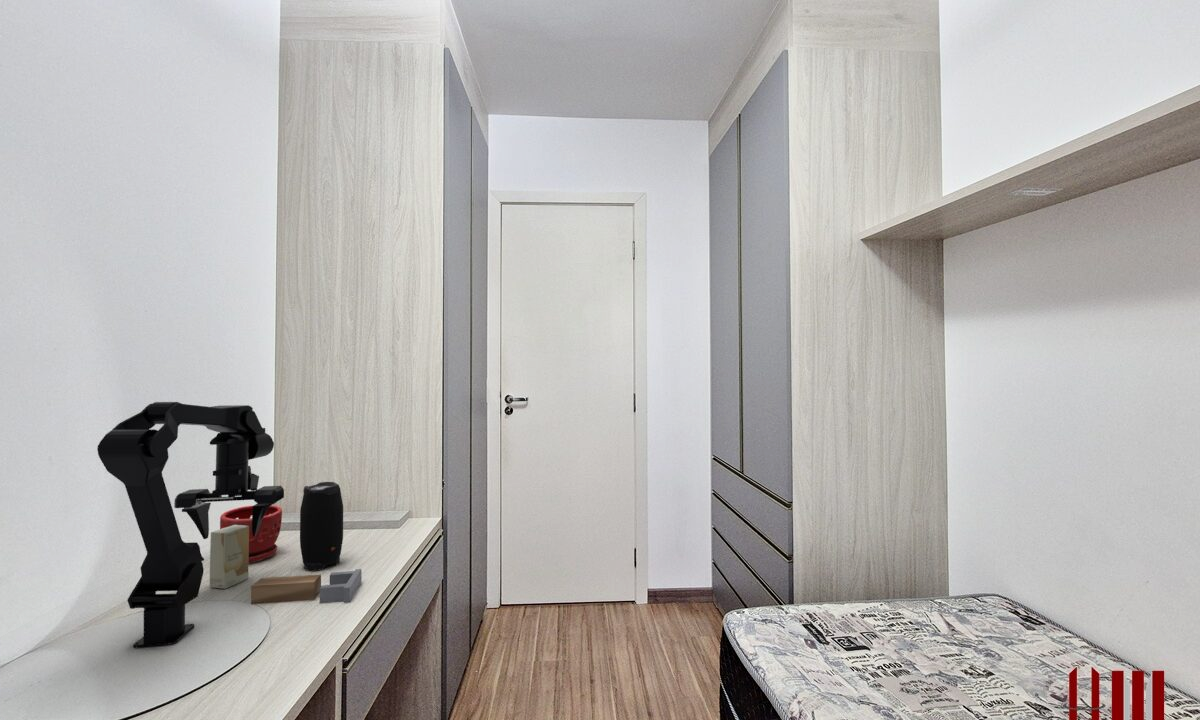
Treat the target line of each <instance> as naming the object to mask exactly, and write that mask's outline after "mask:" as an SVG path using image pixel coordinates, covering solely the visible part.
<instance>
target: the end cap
mask: <svg viewBox="0 0 1200 720" xmlns="http://www.w3.org/2000/svg"><path fill="white" fill-rule="evenodd" d="M362 575H363V574H362V568H356V569H355V570H349V571H336V572H334V571H333V572H331V573H330V574H329V584H324V585H321V587H320V594H319V604H325V603H334V602H335V603H336V602H337V603H338V602H343V603H350V602H351V601H352V599H353V598H354V596H355V594H356V593H357V591H358V590H359V589H358V588H359V587H360V585H361V584H362Z"/></svg>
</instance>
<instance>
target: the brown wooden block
mask: <svg viewBox="0 0 1200 720" xmlns="http://www.w3.org/2000/svg"><path fill="white" fill-rule="evenodd" d="M321 586H322V574H321V573H320V574H319V573H318V574H305V575H291V576H290V575H289V576H273V577H261V578H259V579H258V580H257V581H256V582H255V581H254V583H253V584H251V587H250V590H251V591H250V592H251V593H250V598H251V599H250V600H251V601H250V604H251V605H259V604H261V605H262V604H273V603H275V604H277V603H289V602H290V603H291V602H307V601H314V600H315V599H316V598H317V597H318V596H320V587H321Z"/></svg>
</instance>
